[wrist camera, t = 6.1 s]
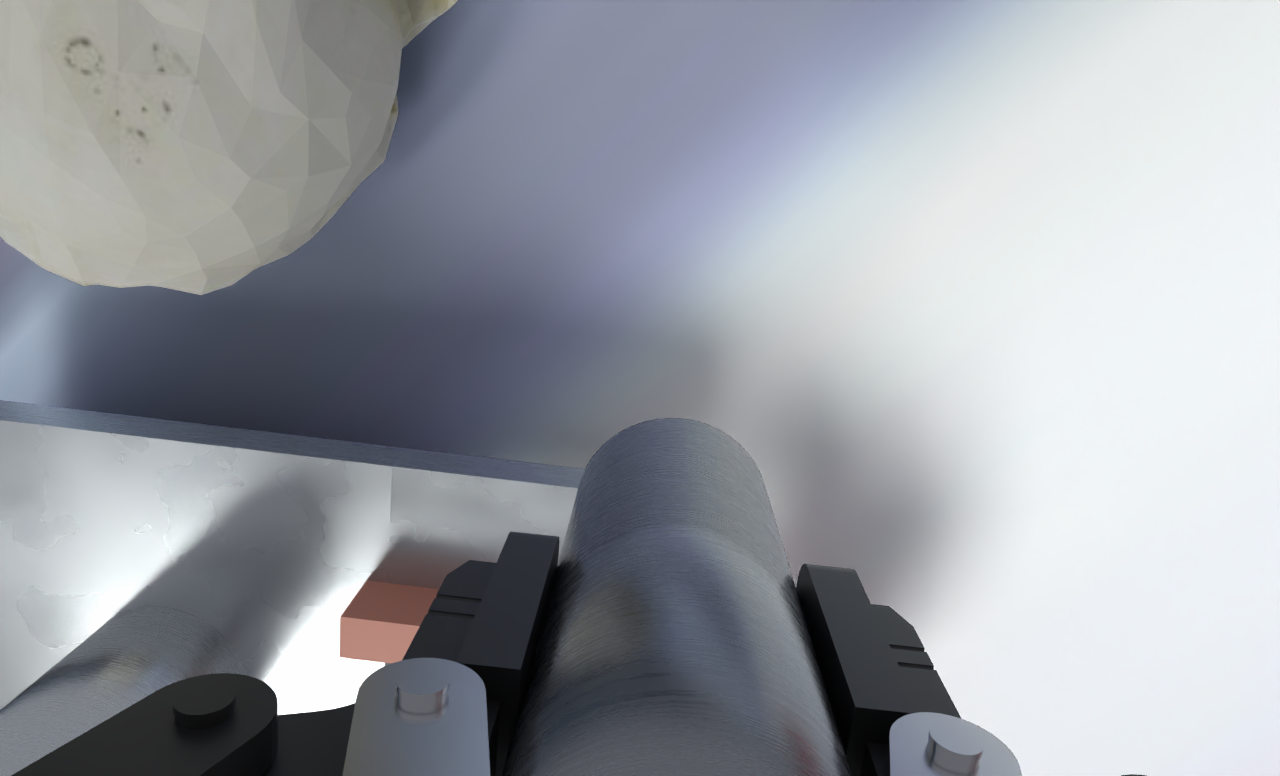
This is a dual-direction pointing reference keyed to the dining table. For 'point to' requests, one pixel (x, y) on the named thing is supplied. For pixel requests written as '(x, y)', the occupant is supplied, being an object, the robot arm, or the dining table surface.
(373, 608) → the bracket
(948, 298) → the dining table surface
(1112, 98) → the dining table surface
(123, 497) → the base plate with posts
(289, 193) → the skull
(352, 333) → the dining table surface
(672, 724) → the pin
